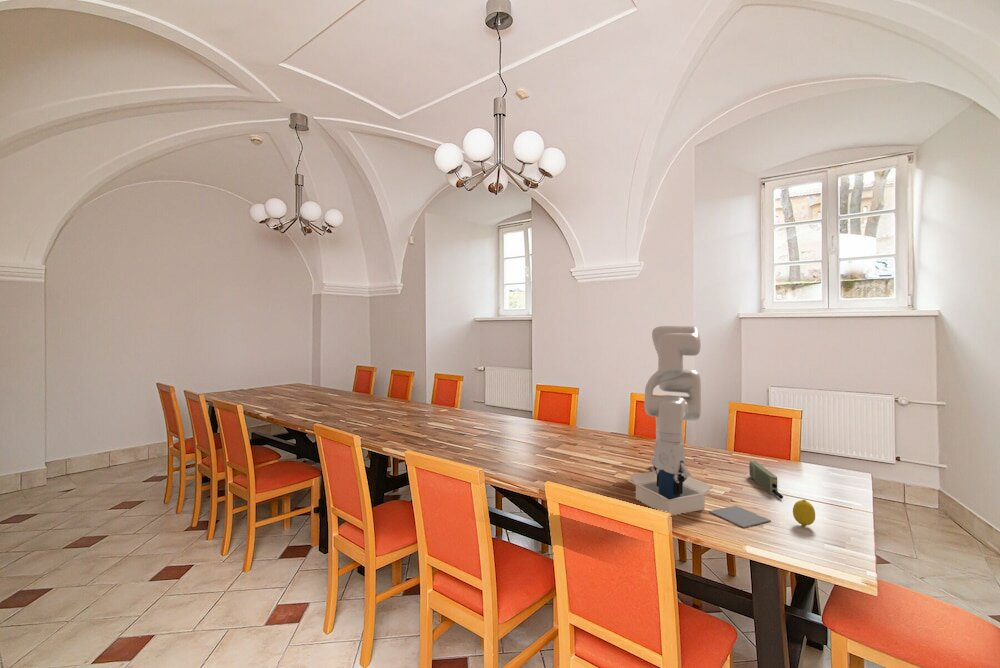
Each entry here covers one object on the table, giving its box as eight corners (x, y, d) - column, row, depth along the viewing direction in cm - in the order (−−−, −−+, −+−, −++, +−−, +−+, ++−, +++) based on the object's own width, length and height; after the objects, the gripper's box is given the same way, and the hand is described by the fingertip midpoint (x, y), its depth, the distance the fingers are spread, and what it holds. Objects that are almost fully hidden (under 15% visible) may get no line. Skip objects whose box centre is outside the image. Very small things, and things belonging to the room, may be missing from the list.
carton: (620, 496, 152) (620, 476, 152) (669, 488, 160) (669, 468, 160) (668, 523, 131) (669, 499, 131) (721, 511, 140) (722, 489, 140)
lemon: (788, 522, 133) (788, 496, 132) (805, 522, 133) (805, 496, 133) (802, 531, 127) (802, 503, 127) (819, 530, 128) (820, 503, 127)
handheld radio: (757, 477, 175) (787, 501, 150) (748, 477, 175) (776, 500, 151) (757, 460, 175) (786, 481, 150) (748, 460, 175) (776, 481, 151)
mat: (709, 512, 139) (709, 511, 139) (735, 506, 144) (735, 505, 144) (743, 528, 128) (743, 526, 128) (770, 521, 133) (770, 520, 133)
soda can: (684, 507, 143) (685, 471, 143) (665, 508, 142) (665, 472, 142) (672, 499, 150) (673, 464, 150) (654, 500, 149) (654, 465, 148)
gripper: (643, 432, 152) (642, 483, 152) (682, 444, 136) (681, 501, 136) (659, 430, 155) (658, 480, 155) (699, 442, 139) (698, 497, 139)
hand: (669, 489), depth 146 cm, fingers closed on soda can, 7 cm apart
